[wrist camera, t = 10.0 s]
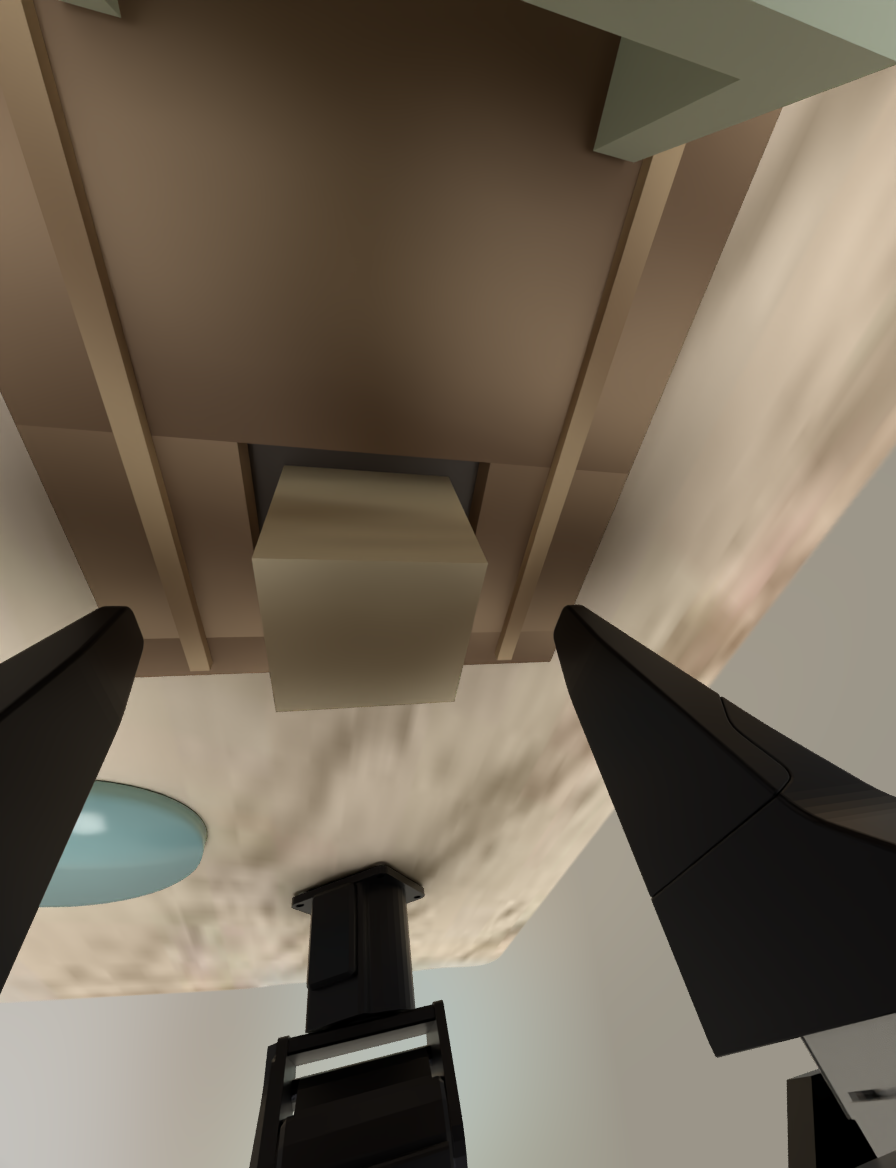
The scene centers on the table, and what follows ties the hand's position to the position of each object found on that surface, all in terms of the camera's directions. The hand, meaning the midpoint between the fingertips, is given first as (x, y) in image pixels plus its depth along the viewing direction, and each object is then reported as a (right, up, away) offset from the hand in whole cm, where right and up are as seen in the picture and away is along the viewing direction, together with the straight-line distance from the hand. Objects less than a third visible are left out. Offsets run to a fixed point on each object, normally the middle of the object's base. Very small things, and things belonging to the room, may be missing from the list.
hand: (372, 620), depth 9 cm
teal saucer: (-14, -10, +9) cm, 20 cm away
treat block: (-1, +2, +2) cm, 3 cm away
